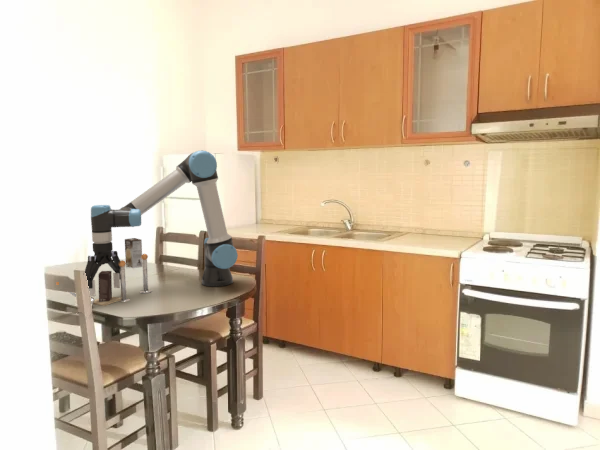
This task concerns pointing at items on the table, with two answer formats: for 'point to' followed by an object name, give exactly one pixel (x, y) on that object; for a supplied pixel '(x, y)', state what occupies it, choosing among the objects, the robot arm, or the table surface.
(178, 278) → the table surface
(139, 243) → the coffee box
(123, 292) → the corner post
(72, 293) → the end post
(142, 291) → the gate post
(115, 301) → the pad
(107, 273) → the box
